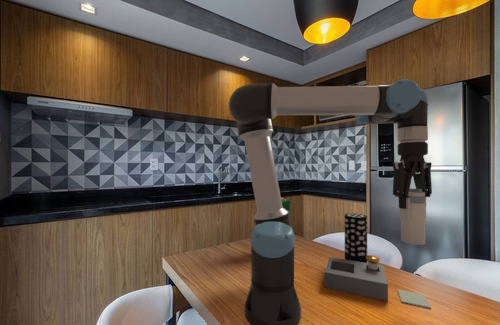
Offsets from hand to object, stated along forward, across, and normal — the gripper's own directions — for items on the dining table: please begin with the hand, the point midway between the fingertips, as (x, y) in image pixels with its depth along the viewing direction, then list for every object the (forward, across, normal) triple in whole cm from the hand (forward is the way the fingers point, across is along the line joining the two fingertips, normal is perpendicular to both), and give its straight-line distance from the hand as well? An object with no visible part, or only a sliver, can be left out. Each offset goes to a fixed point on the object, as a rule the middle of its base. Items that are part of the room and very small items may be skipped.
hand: (412, 218), depth 70 cm
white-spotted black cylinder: (+24, -2, -24) cm, 35 cm away
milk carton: (+24, +23, -46) cm, 57 cm away
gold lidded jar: (+22, +4, -11) cm, 25 cm away
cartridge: (+7, 0, 0) cm, 7 cm away
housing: (+24, +10, -13) cm, 29 cm away
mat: (+24, 0, 0) cm, 24 cm away
